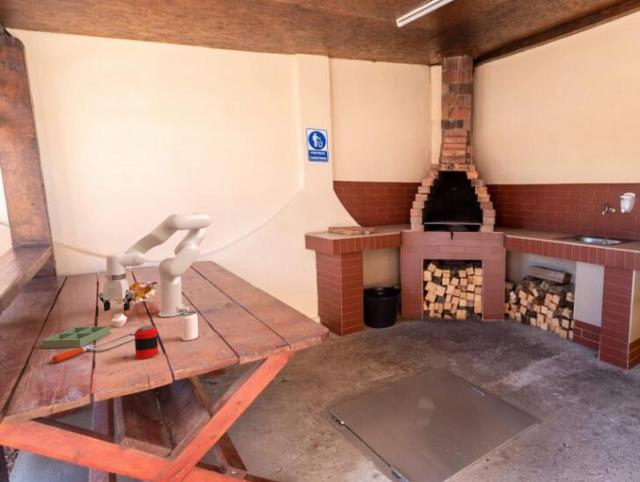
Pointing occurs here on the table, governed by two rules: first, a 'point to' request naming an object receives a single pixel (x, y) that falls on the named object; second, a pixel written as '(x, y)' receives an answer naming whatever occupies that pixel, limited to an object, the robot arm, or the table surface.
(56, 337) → the tray
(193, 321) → the can
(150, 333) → the soda can
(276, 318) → the table surface
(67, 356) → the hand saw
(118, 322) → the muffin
